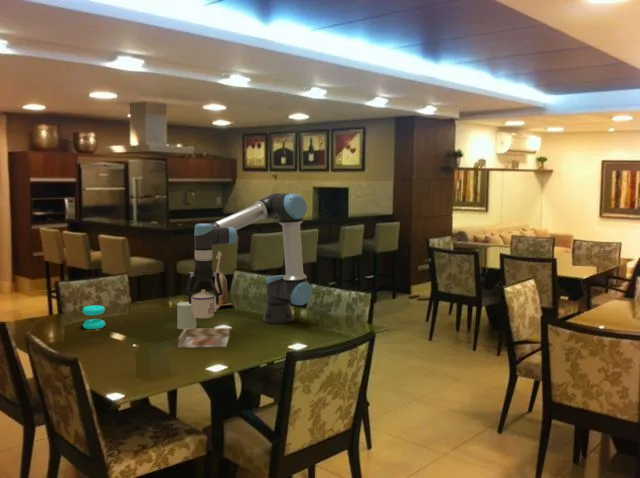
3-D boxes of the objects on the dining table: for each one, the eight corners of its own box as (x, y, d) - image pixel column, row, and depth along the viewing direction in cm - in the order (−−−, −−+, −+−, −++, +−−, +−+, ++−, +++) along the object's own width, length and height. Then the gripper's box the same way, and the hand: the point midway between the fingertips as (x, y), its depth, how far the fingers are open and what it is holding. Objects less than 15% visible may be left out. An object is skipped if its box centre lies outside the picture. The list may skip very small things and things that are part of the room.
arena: (229, 337, 274) (229, 328, 273) (226, 347, 257) (225, 337, 256) (184, 337, 272) (184, 328, 272) (178, 347, 256) (178, 338, 255)
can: (192, 330, 286) (191, 305, 285) (173, 328, 288) (173, 304, 287) (199, 325, 295) (199, 301, 294) (182, 324, 297) (181, 300, 296)
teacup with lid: (212, 318, 257) (212, 291, 256) (191, 318, 256) (190, 291, 255) (216, 312, 269) (216, 286, 268) (195, 312, 268) (195, 286, 267)
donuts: (78, 306, 289) (98, 303, 296) (79, 327, 290) (99, 324, 297) (88, 310, 282) (108, 306, 289) (89, 331, 283) (109, 327, 290)
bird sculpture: (224, 304, 347) (222, 249, 345) (235, 307, 339) (234, 250, 336) (207, 307, 340) (205, 250, 337) (218, 310, 331) (217, 252, 329)
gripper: (229, 258, 265) (229, 309, 267) (179, 258, 263) (180, 309, 265) (228, 260, 257) (228, 312, 259) (176, 260, 256) (177, 313, 258)
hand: (203, 311), depth 262 cm, fingers closed on teacup with lid, 9 cm apart
